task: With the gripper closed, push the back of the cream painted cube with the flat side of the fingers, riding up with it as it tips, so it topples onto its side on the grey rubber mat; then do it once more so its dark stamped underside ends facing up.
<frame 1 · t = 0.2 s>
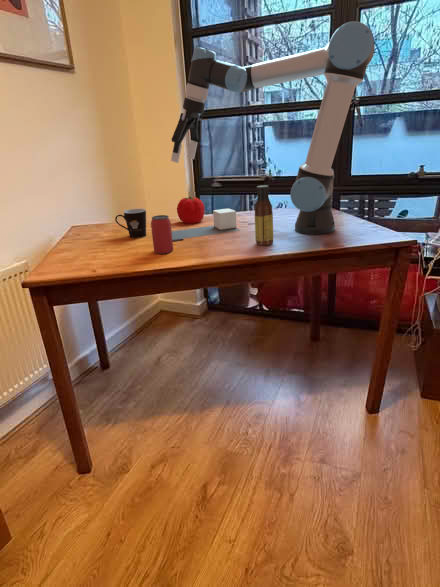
hand: (182, 160, 144), 28 cm above the table, tool tilted 20°, fingers open, 13 cm apart
cream block: (225, 228, 155), point 1 cm above the table, touching rubber mat
coffee mug: (135, 236, 153), on the table
rubber mat: (202, 232, 152), on the table
tomato: (192, 223, 169), on the table
beer can: (163, 252, 131), on the table
sauce bottle: (263, 244, 134), on the table
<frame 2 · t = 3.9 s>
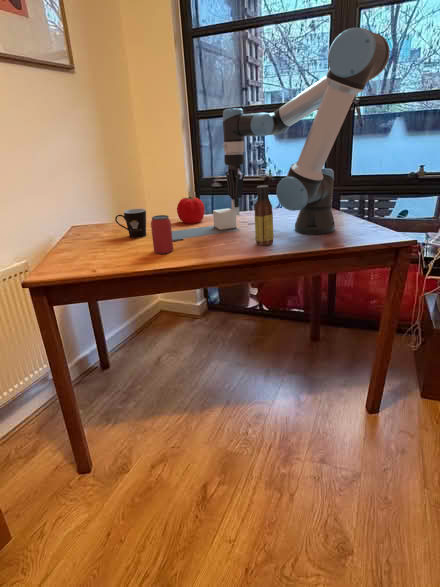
hand: (235, 214, 155), 5 cm above the table, tool pointing down, fingers closed
cream block: (225, 228, 155), point 1 cm above the table, touching gripper, rubber mat
everything else where it was.
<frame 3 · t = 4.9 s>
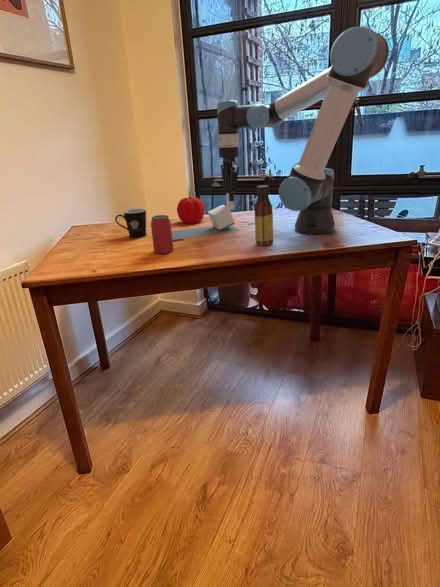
hand: (230, 209, 153), 8 cm above the table, tool pointing down, fingers closed
cream block: (224, 225, 154), point 2 cm above the table, tilted 18°, touching gripper, rubber mat
everything else where it was.
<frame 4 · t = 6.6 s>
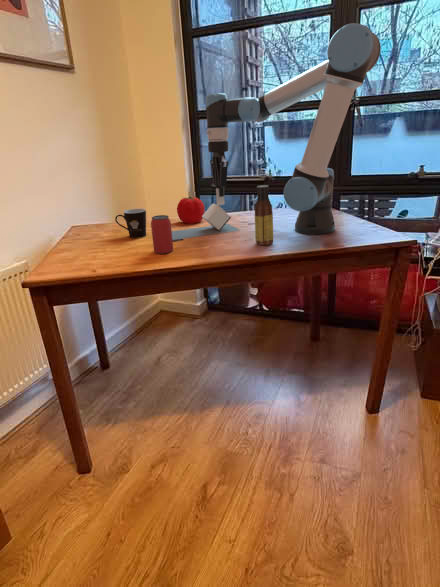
hand: (220, 204, 151), 10 cm above the table, tool pointing down, fingers closed
cream block: (222, 222, 154), point 3 cm above the table, tilted 43°, touching gripper, rubber mat
everything else where it was.
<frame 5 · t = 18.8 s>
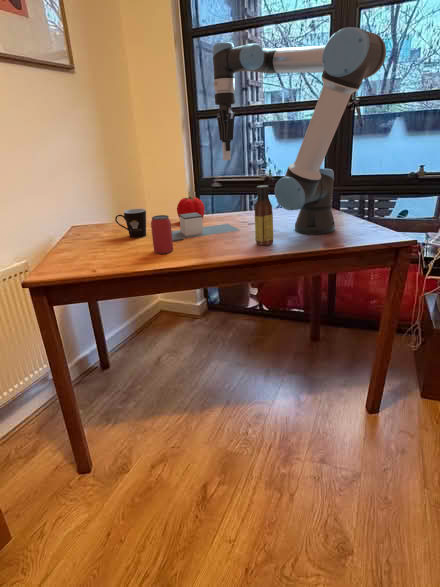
hand: (227, 159, 150), 26 cm above the table, tool pointing down, fingers closed
cream block: (190, 215, 148), point 8 cm above the table, tilted 180°, touching rubber mat
everything else where it was.
at the end: cream block tilted 180°; cream block inside the target area (0.3 cm from its centre), point 7.6 cm above the table; cream block moved 15.9 cm from its start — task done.
